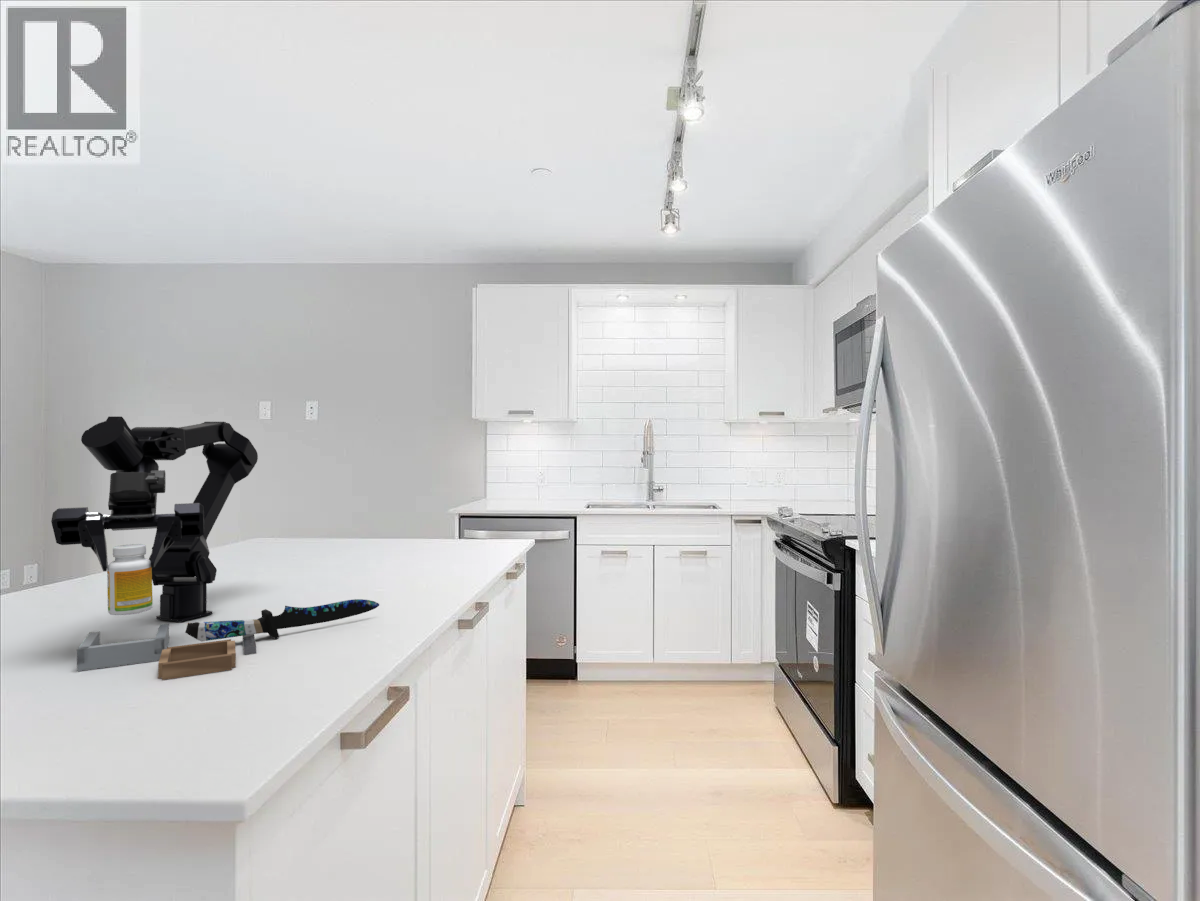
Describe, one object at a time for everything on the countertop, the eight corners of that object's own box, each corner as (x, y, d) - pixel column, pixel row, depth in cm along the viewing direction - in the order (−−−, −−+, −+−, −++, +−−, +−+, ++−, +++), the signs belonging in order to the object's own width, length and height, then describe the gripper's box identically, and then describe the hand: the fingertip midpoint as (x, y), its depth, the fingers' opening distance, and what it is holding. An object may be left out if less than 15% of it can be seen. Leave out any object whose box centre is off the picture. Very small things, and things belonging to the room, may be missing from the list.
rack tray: (89, 652, 98) (89, 632, 98) (169, 642, 103) (169, 623, 103) (76, 671, 89) (76, 649, 89) (164, 659, 94) (164, 639, 94)
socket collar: (163, 661, 93) (163, 647, 93) (234, 652, 98) (234, 638, 98) (157, 680, 86) (157, 665, 86) (235, 669, 90) (235, 654, 90)
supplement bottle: (161, 608, 98) (160, 543, 98) (125, 617, 93) (124, 549, 93) (135, 605, 100) (134, 542, 100) (98, 614, 95) (97, 547, 95)
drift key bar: (242, 641, 104) (242, 635, 104) (253, 639, 104) (253, 633, 104) (243, 654, 97) (244, 647, 97) (256, 653, 98) (256, 646, 98)
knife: (186, 653, 96) (187, 623, 97) (182, 648, 99) (183, 619, 99) (384, 622, 117) (385, 597, 117) (378, 618, 119) (378, 594, 119)
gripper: (53, 453, 95) (36, 538, 85) (203, 452, 104) (202, 529, 95) (64, 503, 102) (49, 586, 92) (204, 498, 111) (203, 573, 102)
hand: (128, 567), depth 95 cm, fingers closed on supplement bottle, 5 cm apart
